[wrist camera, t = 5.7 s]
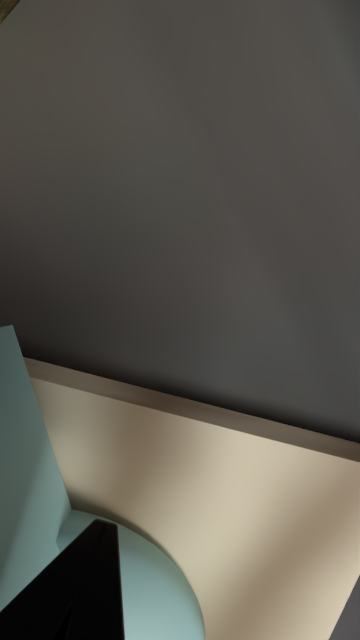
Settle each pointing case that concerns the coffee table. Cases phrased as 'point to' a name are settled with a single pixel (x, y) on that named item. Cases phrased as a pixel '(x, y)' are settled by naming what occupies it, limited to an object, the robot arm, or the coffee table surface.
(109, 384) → the post board
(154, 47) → the coffee table surface
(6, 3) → the miniature house
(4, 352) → the flange
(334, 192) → the coffee table surface
